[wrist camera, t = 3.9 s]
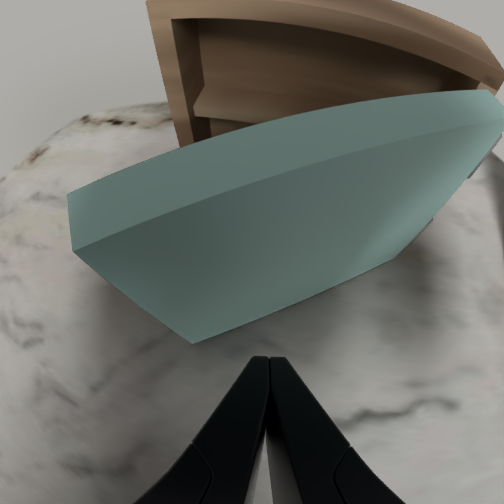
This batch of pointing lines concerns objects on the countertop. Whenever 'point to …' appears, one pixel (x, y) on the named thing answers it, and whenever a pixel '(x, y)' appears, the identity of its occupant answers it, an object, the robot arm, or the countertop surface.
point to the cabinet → (304, 58)
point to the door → (279, 206)
